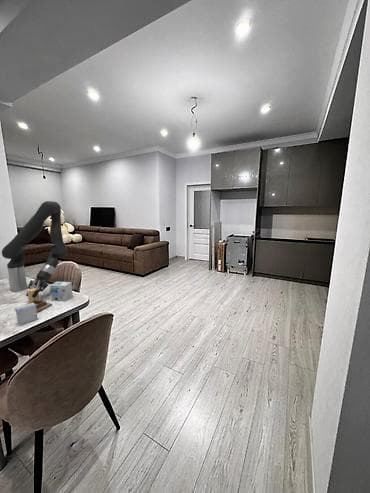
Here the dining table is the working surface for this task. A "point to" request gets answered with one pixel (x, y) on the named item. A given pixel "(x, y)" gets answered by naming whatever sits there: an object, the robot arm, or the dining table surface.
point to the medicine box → (26, 313)
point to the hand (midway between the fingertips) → (30, 296)
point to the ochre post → (30, 293)
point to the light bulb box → (61, 291)
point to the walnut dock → (40, 305)
